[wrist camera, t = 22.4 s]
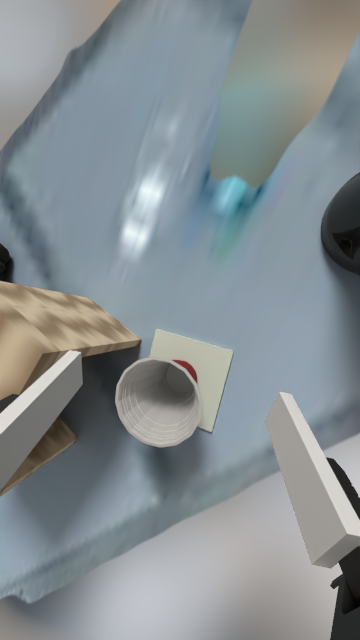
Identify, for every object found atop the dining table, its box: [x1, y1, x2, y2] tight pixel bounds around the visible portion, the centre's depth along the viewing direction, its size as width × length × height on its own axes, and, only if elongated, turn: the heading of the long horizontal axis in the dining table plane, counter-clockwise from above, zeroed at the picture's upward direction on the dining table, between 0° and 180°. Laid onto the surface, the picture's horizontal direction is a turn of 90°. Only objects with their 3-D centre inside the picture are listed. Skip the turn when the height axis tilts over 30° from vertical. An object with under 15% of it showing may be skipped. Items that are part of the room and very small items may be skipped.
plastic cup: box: [115, 356, 202, 448], centre depth 29 cm, size 11×11×12 cm
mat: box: [149, 329, 233, 432], centre depth 35 cm, size 14×14×1 cm
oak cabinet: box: [0, 281, 141, 496], centre depth 31 cm, size 14×26×20 cm, turn 145°
